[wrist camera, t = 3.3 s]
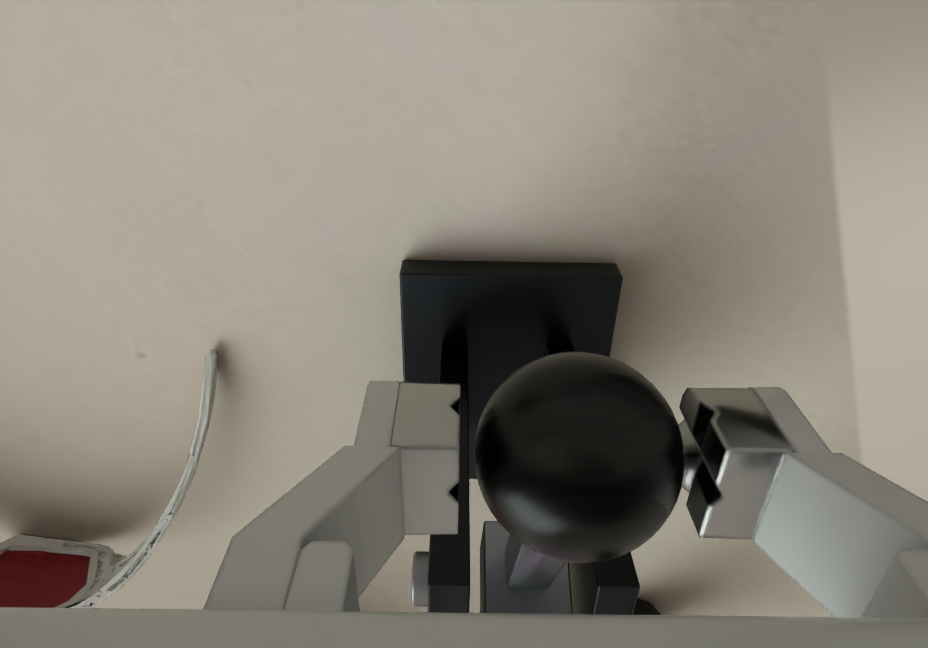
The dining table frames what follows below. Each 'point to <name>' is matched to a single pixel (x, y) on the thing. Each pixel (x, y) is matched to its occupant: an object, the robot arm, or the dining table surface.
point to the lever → (570, 475)
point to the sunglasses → (91, 545)
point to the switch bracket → (483, 370)
